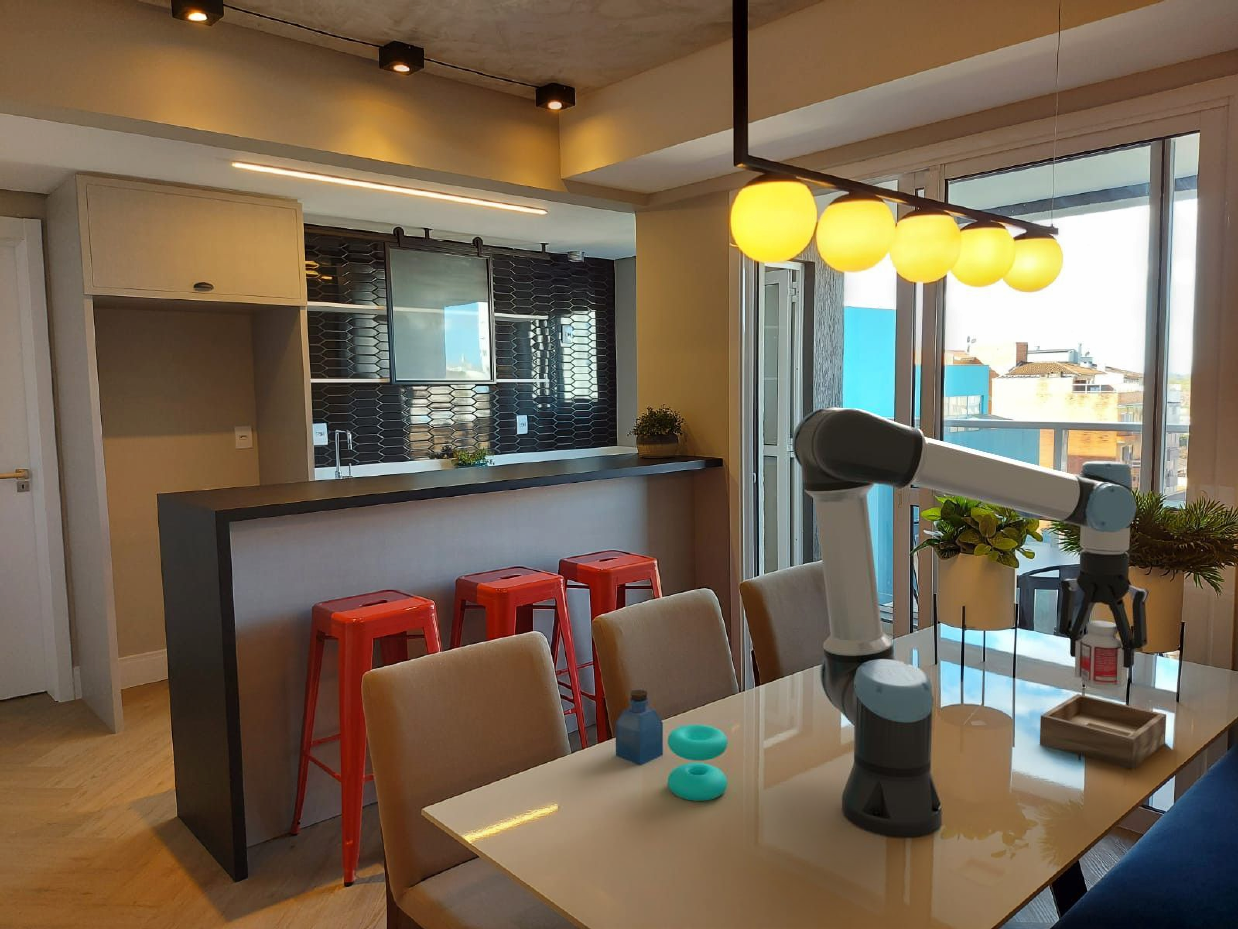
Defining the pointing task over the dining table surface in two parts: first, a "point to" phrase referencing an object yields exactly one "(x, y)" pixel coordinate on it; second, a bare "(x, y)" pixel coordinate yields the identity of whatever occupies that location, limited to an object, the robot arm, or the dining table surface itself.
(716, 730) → the donuts
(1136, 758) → the wooden box
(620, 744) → the perfume bottle
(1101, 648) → the pill bottle
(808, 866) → the dining table surface
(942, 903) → the dining table surface
